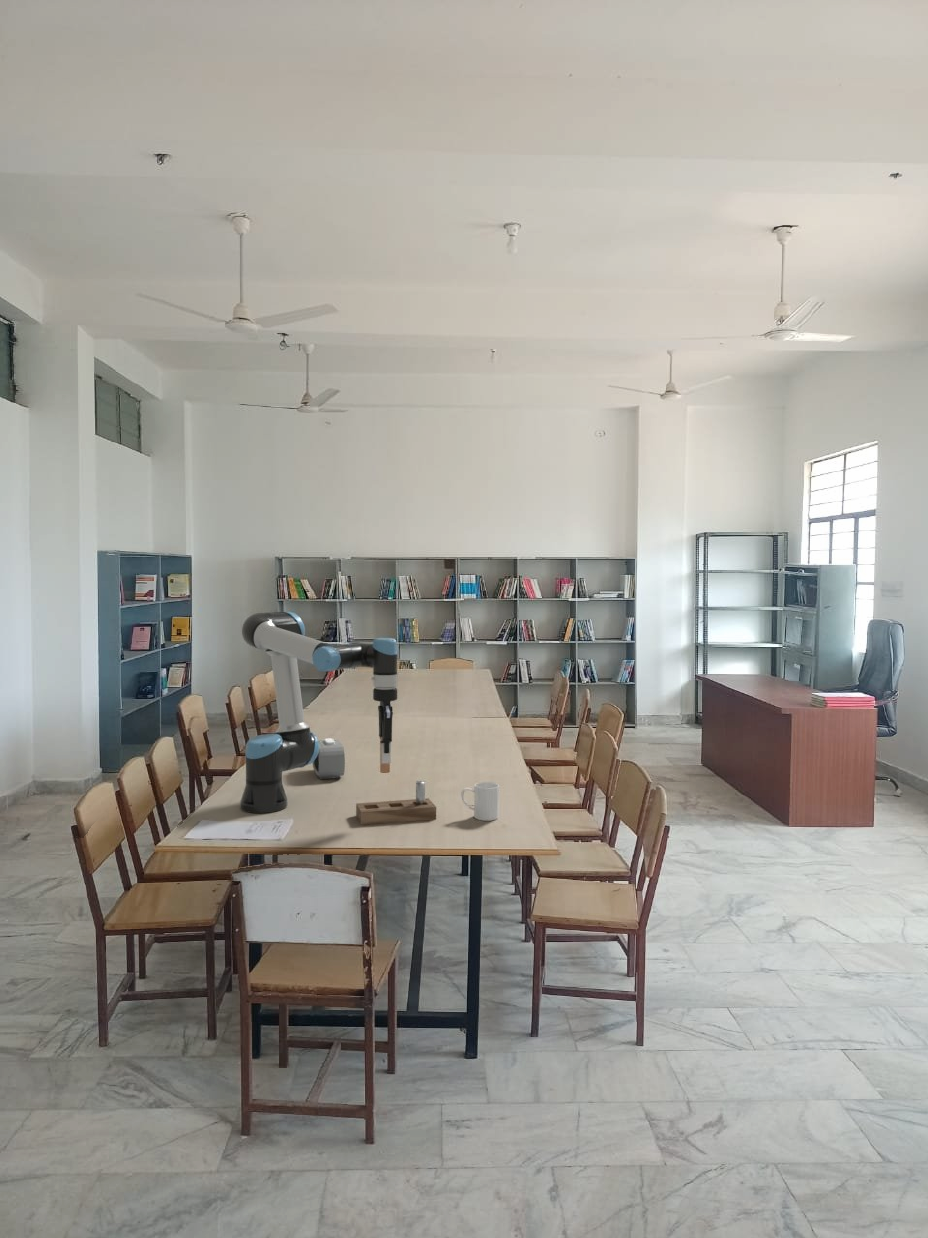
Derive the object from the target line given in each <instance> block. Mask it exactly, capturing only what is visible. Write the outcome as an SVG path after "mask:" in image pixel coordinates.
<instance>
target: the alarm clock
mask: <svg viewBox="0 0 928 1238" xmlns="http://www.w3.org/2000/svg"><path fill="white" fill-rule="evenodd" d="M318 742H319V752H318V755H317V757H316V759H315V760H314V762H313V763H312V767H313V771H314V772H315V774H316V776H318V778H319V779H320V780H324V779H325V780H327V779H339V778H341V777H343V776H345V775H344V774H345V767H346V766H345V765H346V762H345V761H346V757H345V755H346V754H345V748H344V745H343V744H342V743H341V741H340V740H339V739H334V738H331V737H330V738H327V737H326V738H324V739H322V740H319V739H318Z"/></svg>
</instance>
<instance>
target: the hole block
mask: <svg viewBox="0 0 928 1238" xmlns="http://www.w3.org/2000/svg"><path fill="white" fill-rule="evenodd" d="M355 804H356V805H355V807H356V808H355V816H356V818H357V819H358V821H359V823H360V825H361V826H364V825H365V826H366V825H377V824H390V823H401V822H402V823H403V822H416V821H417V822H418V821H427V820H428V821H429V820H437V806H436V804H434V802H433V801H432V800H431V799H430V798H426V797H425V805H417V806H416V798H415V799H398V800H385V801H384V800H383V801H371V802H356V803H355Z"/></svg>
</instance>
